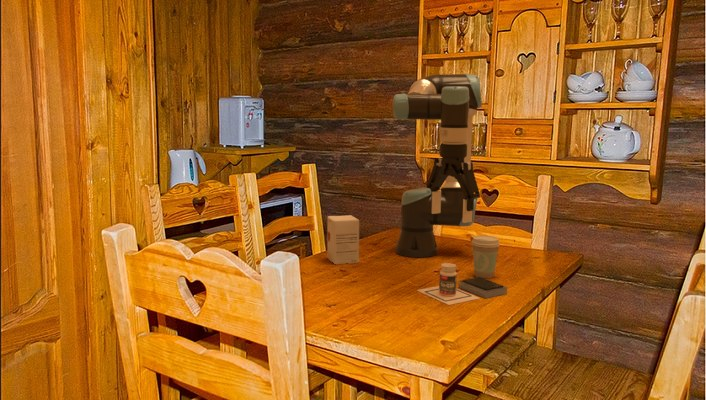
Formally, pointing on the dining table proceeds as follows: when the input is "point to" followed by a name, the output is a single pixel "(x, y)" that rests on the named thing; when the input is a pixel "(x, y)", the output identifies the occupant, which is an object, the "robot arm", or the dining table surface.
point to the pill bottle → (448, 280)
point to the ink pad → (483, 287)
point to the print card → (448, 300)
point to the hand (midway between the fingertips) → (451, 217)
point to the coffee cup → (485, 255)
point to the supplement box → (343, 239)
